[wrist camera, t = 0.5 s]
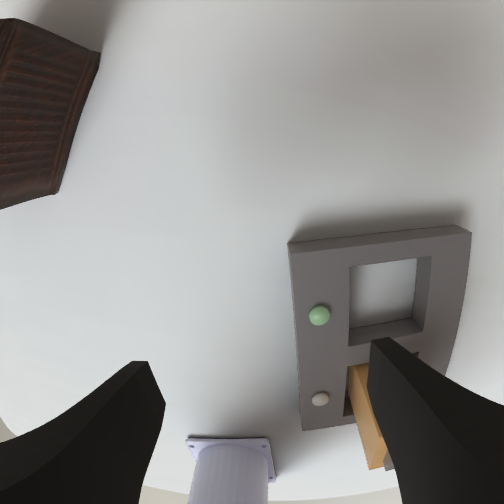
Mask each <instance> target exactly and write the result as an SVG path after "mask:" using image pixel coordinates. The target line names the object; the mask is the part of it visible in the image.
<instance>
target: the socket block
mask: <svg viewBox="0 0 504 504" xmlns="http://www.w3.org/2000/svg"><path fill="white" fill-rule="evenodd" d="M471 236H472V232H470V231H468V230H466V229H463V228H461V227H459V226H457V225H450V226H441V227H432V228H423V229H413V230H404V231H395V232H386V233H377V234H368V235H359V236H349V237H341V238H332V239H323V240H314V241H305V242H296V243H287V246H288V255H289V266H290V276H291V287H292V299H293V310H294V323H295V336H296V350H297V365H298V380H299V398H300V415H301V425H302V431H305V430H313V429H320V428H327V427H334V426H340V425H346V424H351V423H356V419H355V415H354V412H353V408H352V405H351V402H350V398H346V399H345V388H346V374H347V366H352V365H358V364H364V363H369V357H370V345H371V340H374V339H379V338H384V337H390V338H392V339H393V340H394V341H396V342H397V343H399V344H400V345H401V346H403V347H404V348H405V349H407V350H408V351H409V352H411V353H412V354H413V355H415V356H416V357H418V358H419V359H420V360H422V361H423V362H425V363H426V364H427V365H429V366H430V367H432V368H433V369H435V370H436V371H438V372H439V373H441V374H442V375H444V376H445V374H446V371H447V367H448V364H449V361H450V357H451V353H452V350H453V346H454V342H455V338H456V334H457V330H458V325H459V321H460V316H461V311H462V306H463V300H464V294H465V288H466V282H467V275H468V267H469V258H470V248H471ZM412 258H417V271H416V284H415V294H414V304H413V312H412V318H408V319H403V320H398V321H393V322H387V323H382V324H376V325H371V326H365V327H359V328H353V329H349V267H353V266H360V265H368V264H376V263H383V262H390V261H397V260H405V259H412Z"/></svg>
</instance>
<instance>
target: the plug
mask: <svg viewBox="0 0 504 504" xmlns="http://www.w3.org/2000/svg"><path fill="white" fill-rule="evenodd" d="M368 368H369V363H364V364H358V365H352V366H350V370H349V383H348V395H349V398H350V402H351V405H352V408H353V412H354V415H355V419H356V423H357V426H358V430H359V433H360V437H361V441H362V445H363V448H364V452H365V456H366V460H367V464H368V468H369V470H372V469H376V468H380V467H385V471H388V470H392V469H395V468H394V465H393V462H392V459H391V457H390V454H389V452H388V449H387V446H386V444H385V441H384V439H383V436H382V434H381V431H380V429H379V426H378V424H377V421H376V419H375V416H374V413H373V410H372V406H371V403H370V399H369V395H368V391H367V387H366V386H367V378H368Z"/></svg>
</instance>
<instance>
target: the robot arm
mask: <svg viewBox="0 0 504 504" xmlns="http://www.w3.org/2000/svg"><path fill="white" fill-rule="evenodd" d="M366 387H367V391H368V395H369V399H370V403H371V406H372V410H373V413H374V416H375V419H376V421H377V424H378V426H379V429H380V431H381V434H382V436H383V439H384V441H385V444H386V446H387V449H388V452H389V454H390V457H391V459H392V462H393V465H394V468H395V471H396V475H397V479H398V483H399V488H400V493H401V498H402V503H403V504H504V405H501V404H498V403H496V402H493V401H491V400H488V399H486V398H484V397H482V396H480V395H478V394H476V393H474V392H472V391H470V390H468V389H466V388H464V387H462V386H460V385H459V384H457V383H455V382H454V381H452V380H450V379H449V378H447V377H445V376H444V375H442V374H441V373H439V372H438V371H436V370H435V369H433V368H432V367H430V366H429V365H427V364H426V363H425V362H423V361H422V360H420V359H419V358H418V357H416V356H415V355H413V354H412V353H411V352H409V351H408V350H407V349H405V348H404V347H403V346H401V345H400V344H399V343H397V342H396V341H394V340H393V339H392V338H390V337H384V338H379V339H374V340H371V345H370V357H369V368H368V378H367V386H366ZM165 406H166V403H165V400H164V398H163V396H162V394H161V392H160V389H159V387H158V385H157V382H156V380H155V378H154V375H153V373H152V371H151V368H150V366H149V363H148V361H132V362H130V363H129V364H127V365H126V366H124V367H123V368H122V369H120V370H119V371H118V372H117V373H115V374H114V375H113V376H112V377H110V378H109V379H108V380H107V381H105V382H104V383H103V384H102V385H100V386H99V387H98V388H96V389H95V390H94V391H93V392H91V393H90V394H89V395H88V396H86V397H85V398H83V399H82V400H81V401H79V402H78V403H77V404H75V405H74V406H72V407H71V408H70V409H68V410H67V411H65V412H64V413H62V414H61V415H59V416H58V417H56V418H54V419H53V420H51V421H49V422H47V423H46V424H44V425H42V426H40V427H38V428H36V429H34V430H32V431H30V432H27V433H25V434H23V435H21V436H18V437H16V438H13V439H10V440H8V441H5V442H1V443H0V504H138V503H139V498H140V492H141V487H142V484H143V480H144V477H145V474H146V471H147V468H148V465H149V462H150V459H151V457H152V454H153V451H154V448H155V445H156V442H157V439H158V436H159V433H160V430H161V427H162V422H163V417H164V412H165ZM186 445H187V447H188V448H189V450H190V452H191V454H192V456H193V458H194V460H195V462H196V466H195V471H194V475H193V480H192V485H191V490H190V494H189V500H188V504H268V483H274V482H276V476H275V471H274V465H273V460H272V455H271V449H270V444H269V440H268V439H266V438H255V439H195V438H188V439H186Z"/></svg>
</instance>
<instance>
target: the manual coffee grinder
mask: <svg viewBox="0 0 504 504" xmlns="http://www.w3.org/2000/svg"><path fill="white" fill-rule="evenodd" d="M99 60H100V53H99V52H95V51H90V50H88V49H86V48H84V47H82V46H80V45H78V44H75V43H73V42H71V41H69V40H67V39H65V38H63V37H60V36H58V35H56V34H54V33H52V32H49V31H47V30H45V29H42V28H40V27H38V26H35V25H33V24H30V23H28V22H25V21H23V20H20V19H16V18H7V19H0V210H1V209H4V208H7V207H10V206H13V205H16V204H19V203H23V202H26V201H29V200H32V199H36V198H40V197H44V196H48V195H55V194H56V193H58V190H59V186H60V183H61V180H62V176H63V173H64V170H65V167H66V163H67V159H68V155H69V152H70V148H71V144H72V141H73V138H74V134H75V131H76V128H77V125H78V122H79V119H80V116H81V113H82V110H83V107H84V104H85V101H86V99H87V96H88V93H89V90H90V88H91V85H92V83H93V80H94V78H95V75H96V73H97V70H98V67H99Z"/></svg>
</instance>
